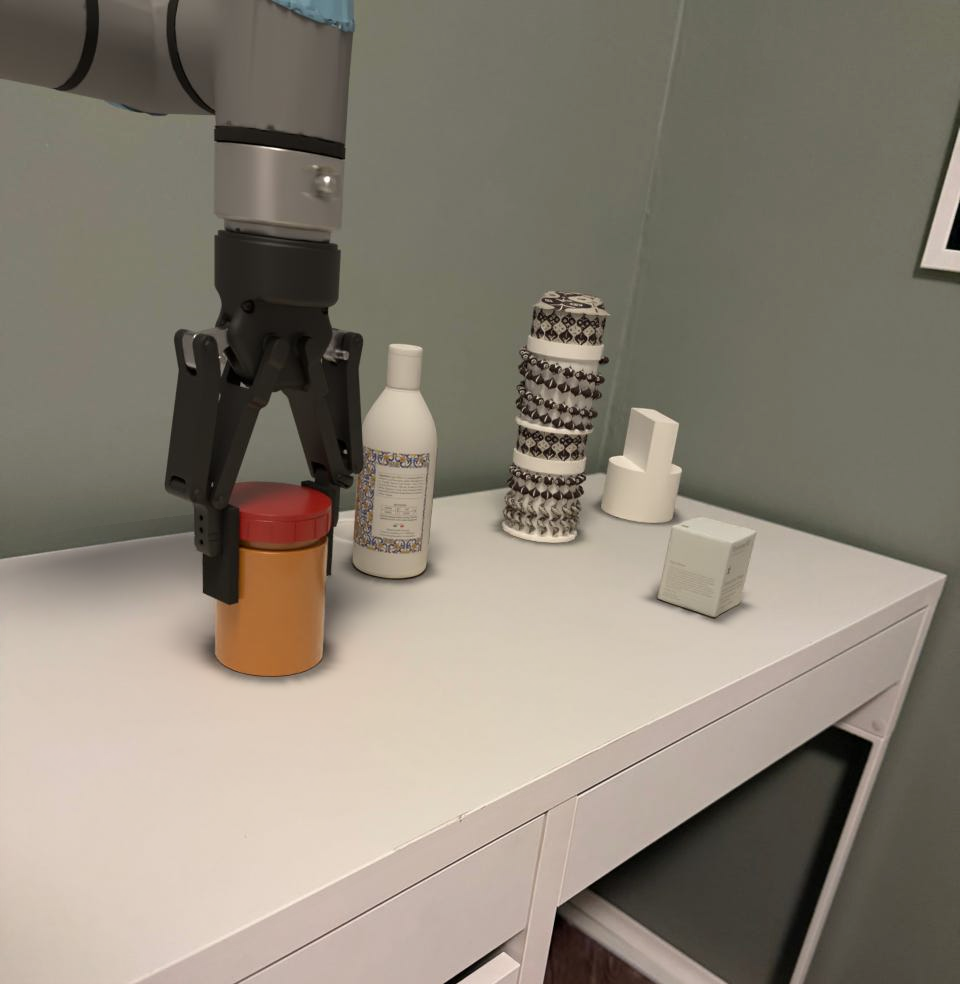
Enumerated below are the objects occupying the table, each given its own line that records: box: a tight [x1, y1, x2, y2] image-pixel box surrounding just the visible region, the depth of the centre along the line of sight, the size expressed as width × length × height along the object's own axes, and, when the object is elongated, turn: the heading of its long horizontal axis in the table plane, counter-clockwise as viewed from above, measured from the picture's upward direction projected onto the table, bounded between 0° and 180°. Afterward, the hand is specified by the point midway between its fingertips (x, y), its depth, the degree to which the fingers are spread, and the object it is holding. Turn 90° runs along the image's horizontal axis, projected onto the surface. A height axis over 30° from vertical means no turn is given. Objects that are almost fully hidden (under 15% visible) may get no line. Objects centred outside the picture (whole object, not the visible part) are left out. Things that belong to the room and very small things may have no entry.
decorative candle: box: [501, 290, 611, 544], centre depth 98 cm, size 9×9×25 cm
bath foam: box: [352, 343, 439, 579], centre depth 82 cm, size 7×7×20 cm
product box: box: [657, 516, 757, 618], centre depth 86 cm, size 6×6×7 cm
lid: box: [228, 480, 332, 543], centre depth 63 cm, size 8×8×2 cm
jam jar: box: [214, 535, 328, 677], centre depth 65 cm, size 8×8×11 cm
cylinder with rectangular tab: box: [600, 407, 683, 524], centre depth 113 cm, size 9×9×12 cm
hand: (269, 583), depth 65 cm, fingers closed on lid, 8 cm apart
